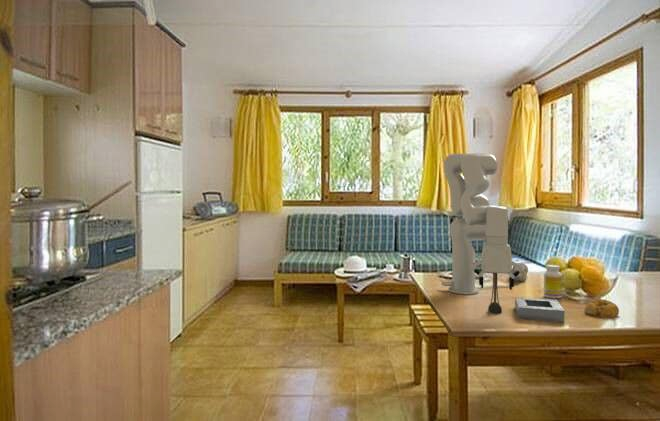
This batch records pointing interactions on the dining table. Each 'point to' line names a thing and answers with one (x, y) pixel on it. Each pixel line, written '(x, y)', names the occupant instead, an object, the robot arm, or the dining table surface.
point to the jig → (539, 309)
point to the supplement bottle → (552, 282)
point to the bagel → (602, 308)
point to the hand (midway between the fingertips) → (496, 288)
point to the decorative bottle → (522, 274)
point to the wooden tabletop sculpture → (494, 306)
